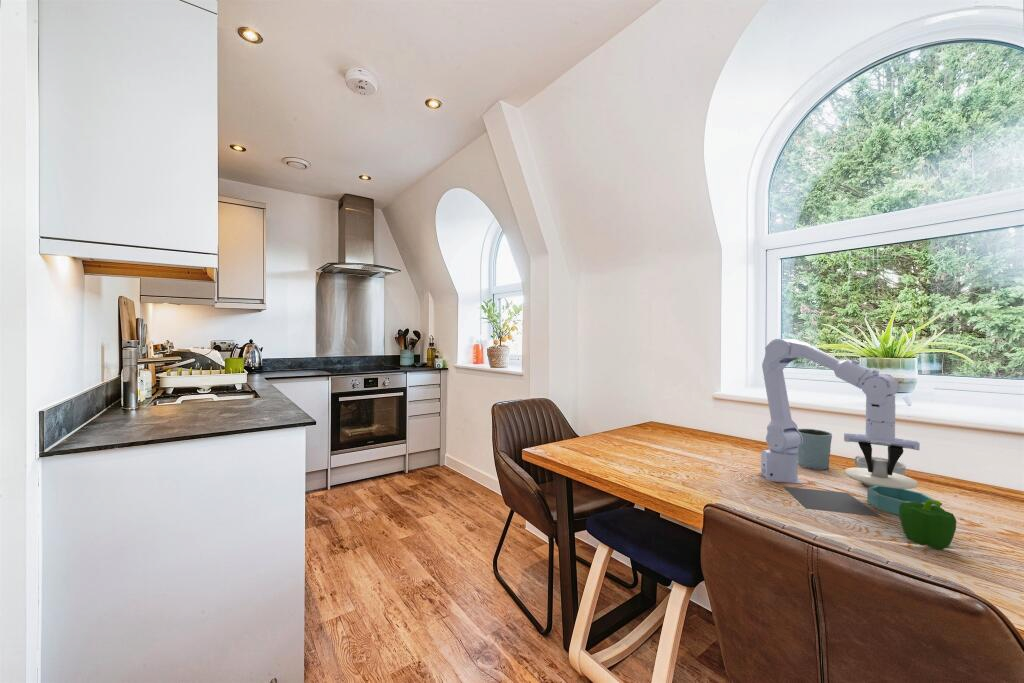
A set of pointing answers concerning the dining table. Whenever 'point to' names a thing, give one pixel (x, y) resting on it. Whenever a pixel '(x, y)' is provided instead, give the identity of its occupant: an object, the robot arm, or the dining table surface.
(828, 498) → the mat
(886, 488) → the bowl
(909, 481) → the lid
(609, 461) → the dining table surface
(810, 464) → the teal cup
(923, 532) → the bell pepper
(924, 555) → the dining table surface
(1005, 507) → the dining table surface
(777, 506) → the dining table surface
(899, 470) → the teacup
